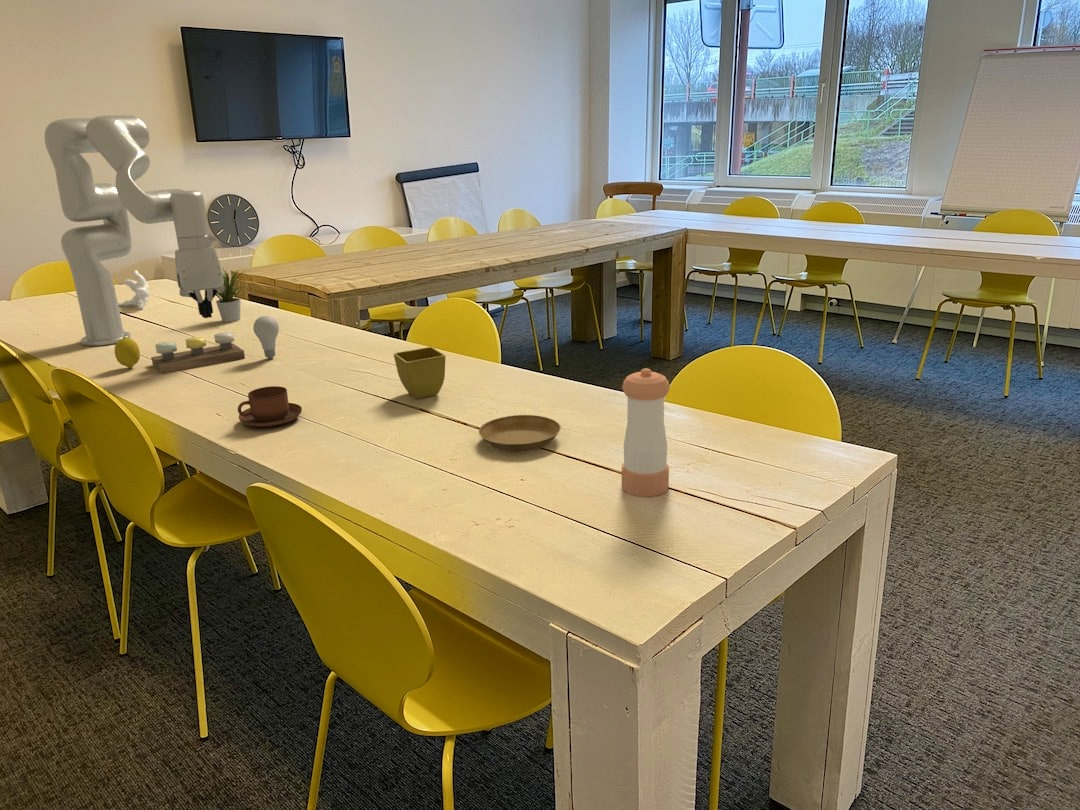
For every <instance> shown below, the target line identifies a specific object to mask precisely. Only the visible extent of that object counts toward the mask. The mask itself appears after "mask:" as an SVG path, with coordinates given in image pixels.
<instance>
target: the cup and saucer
mask: <svg viewBox="0 0 1080 810" xmlns="http://www.w3.org/2000/svg"><path fill="white" fill-rule="evenodd" d="M247 397H248V400H245V401H242V402H240V404H239V405H238V407H237V413H238V414H239V415H238V420H239V421H240V422H241V423H242V424H243V425H246V426H250V427H255V428H267V427H269V428H270V427H276V426H280V425H284V424H287V423H290V422H292V421H294V420H296V419H297V418H298V417H299V416H300V415H301V413H302V410H303V409H302V406H301V405H299V404H297V403H293V402H289V397H288V389H287V388H286V387H283V386H279V385H278V386H277V385H276V386H275V385H274V386H264V387H259V388H256V389H253V390H251V391H250V392H248V394H247ZM245 405H246V406H247V405H249V408H246V409H245V410H243V411H242V408H243V406H245Z"/></svg>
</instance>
